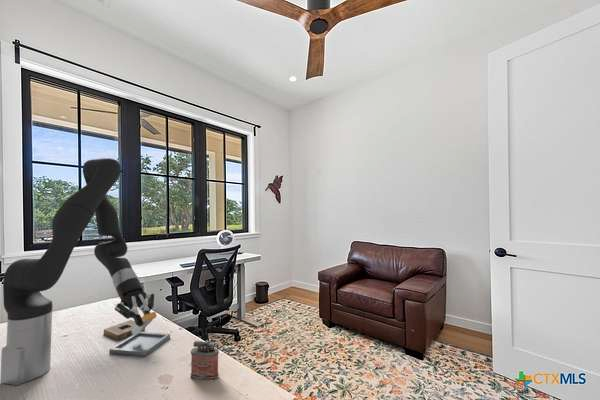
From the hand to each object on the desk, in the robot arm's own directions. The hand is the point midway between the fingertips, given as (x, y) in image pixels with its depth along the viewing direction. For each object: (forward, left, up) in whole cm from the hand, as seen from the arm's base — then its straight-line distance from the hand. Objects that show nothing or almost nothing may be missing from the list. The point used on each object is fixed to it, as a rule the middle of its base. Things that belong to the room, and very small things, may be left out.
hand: (145, 323), depth 93 cm
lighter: (-13, -29, -8) cm, 33 cm away
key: (+2, +6, -4) cm, 8 cm away
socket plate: (+8, +16, -8) cm, 20 cm away
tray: (0, +2, -8) cm, 8 cm away
